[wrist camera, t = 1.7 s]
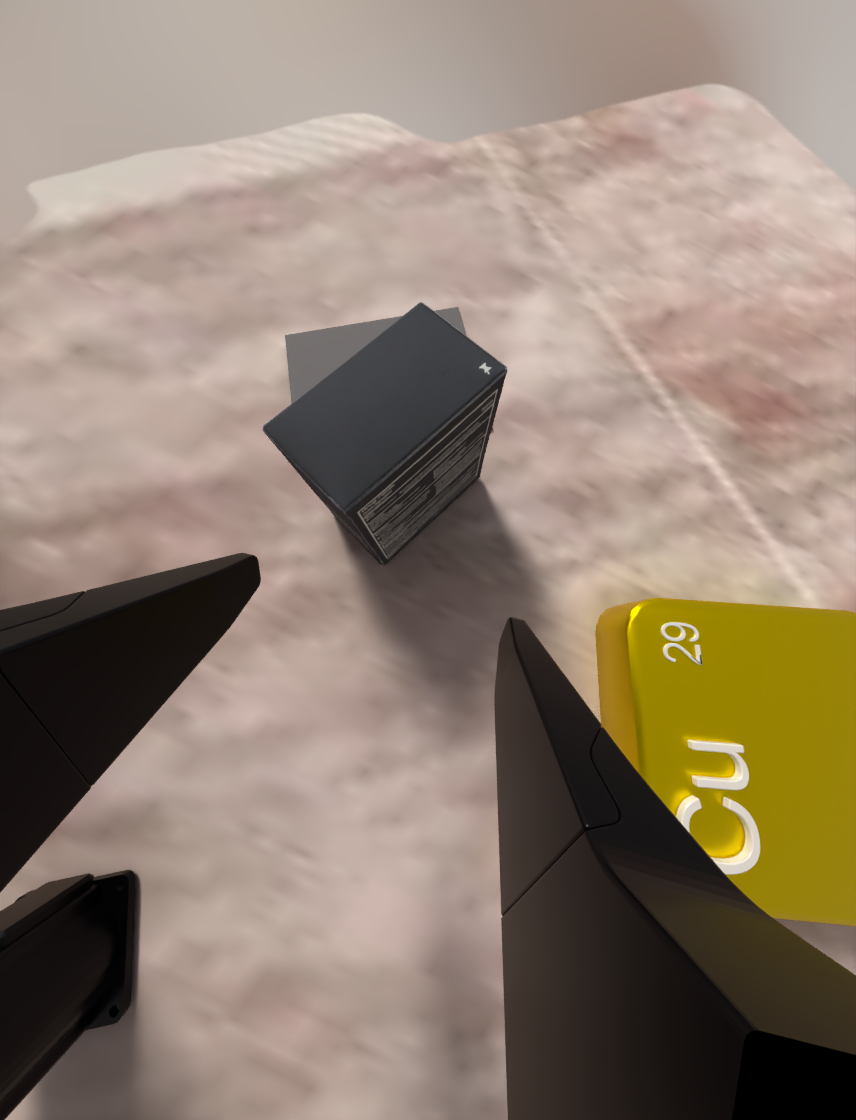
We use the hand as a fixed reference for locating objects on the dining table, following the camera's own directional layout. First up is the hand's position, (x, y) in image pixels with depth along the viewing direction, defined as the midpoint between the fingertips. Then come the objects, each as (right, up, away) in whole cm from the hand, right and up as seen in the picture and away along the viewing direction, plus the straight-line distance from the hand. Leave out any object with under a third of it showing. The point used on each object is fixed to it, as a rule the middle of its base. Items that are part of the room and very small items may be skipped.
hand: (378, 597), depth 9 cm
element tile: (+20, -10, +12) cm, 25 cm away
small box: (0, +6, +16) cm, 17 cm away
